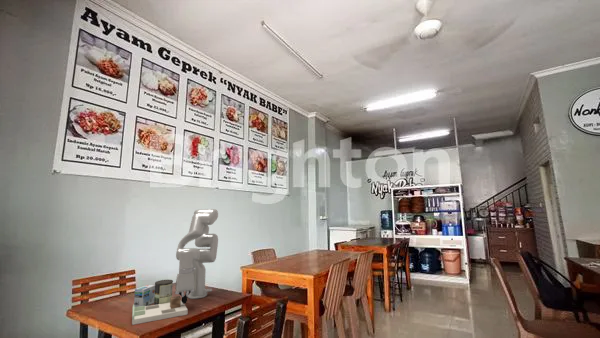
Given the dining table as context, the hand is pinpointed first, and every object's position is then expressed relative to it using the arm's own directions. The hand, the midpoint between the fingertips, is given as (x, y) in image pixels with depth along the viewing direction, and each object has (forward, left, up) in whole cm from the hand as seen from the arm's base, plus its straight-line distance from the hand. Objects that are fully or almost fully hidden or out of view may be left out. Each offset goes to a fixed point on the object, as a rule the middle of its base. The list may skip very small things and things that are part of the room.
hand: (184, 303), depth 168 cm
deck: (+13, 0, -4) cm, 14 cm away
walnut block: (+5, 0, -1) cm, 5 cm away
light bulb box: (+20, -23, -4) cm, 31 cm away
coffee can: (+10, -16, -4) cm, 19 cm away
